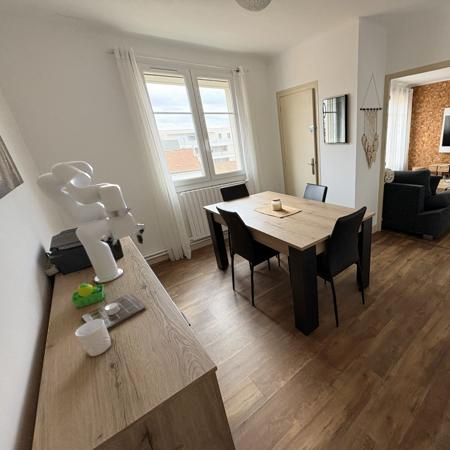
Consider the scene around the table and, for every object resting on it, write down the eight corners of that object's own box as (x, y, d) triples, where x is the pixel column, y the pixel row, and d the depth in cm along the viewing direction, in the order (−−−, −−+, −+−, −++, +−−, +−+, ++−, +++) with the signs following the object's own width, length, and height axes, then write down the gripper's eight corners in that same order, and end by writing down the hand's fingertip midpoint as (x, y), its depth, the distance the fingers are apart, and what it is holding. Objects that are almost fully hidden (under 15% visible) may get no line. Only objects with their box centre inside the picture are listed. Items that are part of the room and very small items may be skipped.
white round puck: (105, 312, 103) (103, 307, 102) (117, 306, 107) (115, 301, 105) (109, 316, 101) (107, 311, 100) (121, 310, 104) (119, 305, 103)
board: (82, 318, 103) (81, 316, 102) (129, 295, 116) (128, 293, 116) (96, 336, 93) (95, 334, 92) (145, 309, 106) (144, 307, 105)
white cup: (83, 361, 82) (71, 339, 79) (89, 345, 89) (79, 324, 85) (111, 351, 86) (100, 330, 82) (115, 336, 92) (105, 316, 89)
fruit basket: (107, 292, 120) (98, 273, 115) (105, 301, 113) (96, 281, 109) (77, 301, 114) (67, 281, 110) (74, 312, 107) (63, 291, 103)
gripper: (135, 206, 115) (145, 238, 121) (91, 217, 102) (105, 252, 108) (142, 208, 111) (152, 241, 117) (96, 220, 98) (111, 257, 104)
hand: (129, 247), depth 113 cm, fingers open, 9 cm apart
